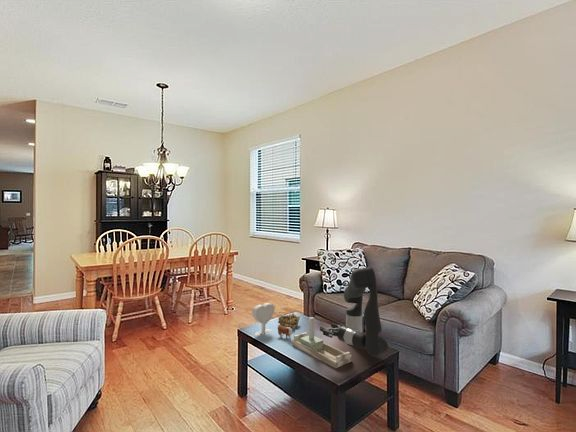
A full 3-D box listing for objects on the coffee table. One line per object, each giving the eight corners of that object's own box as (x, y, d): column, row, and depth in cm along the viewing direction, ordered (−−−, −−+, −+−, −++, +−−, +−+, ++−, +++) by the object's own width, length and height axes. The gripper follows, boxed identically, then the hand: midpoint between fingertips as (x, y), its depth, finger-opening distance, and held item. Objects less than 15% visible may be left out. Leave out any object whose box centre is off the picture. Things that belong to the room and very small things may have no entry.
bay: (307, 341, 192) (307, 331, 192) (351, 363, 166) (351, 351, 166) (292, 346, 185) (292, 336, 184) (335, 370, 158) (335, 358, 158)
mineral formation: (276, 325, 218) (292, 319, 227) (288, 334, 208) (305, 327, 217) (276, 314, 216) (293, 309, 226) (289, 323, 206) (306, 317, 216)
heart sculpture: (256, 336, 199) (256, 307, 198) (251, 334, 202) (251, 305, 202) (275, 330, 209) (275, 303, 209) (270, 328, 213) (270, 301, 212)
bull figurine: (290, 343, 189) (290, 329, 189) (276, 336, 199) (276, 323, 199) (295, 341, 192) (295, 328, 192) (281, 334, 202) (281, 321, 202)
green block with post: (310, 342, 187) (311, 314, 187) (323, 348, 179) (323, 319, 179) (300, 346, 182) (300, 317, 181) (312, 353, 174) (312, 322, 174)
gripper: (358, 325, 163) (335, 317, 176) (339, 331, 154) (316, 322, 167) (358, 340, 163) (334, 330, 176) (339, 346, 154) (316, 336, 167)
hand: (326, 326), depth 171 cm, fingers open, 8 cm apart
